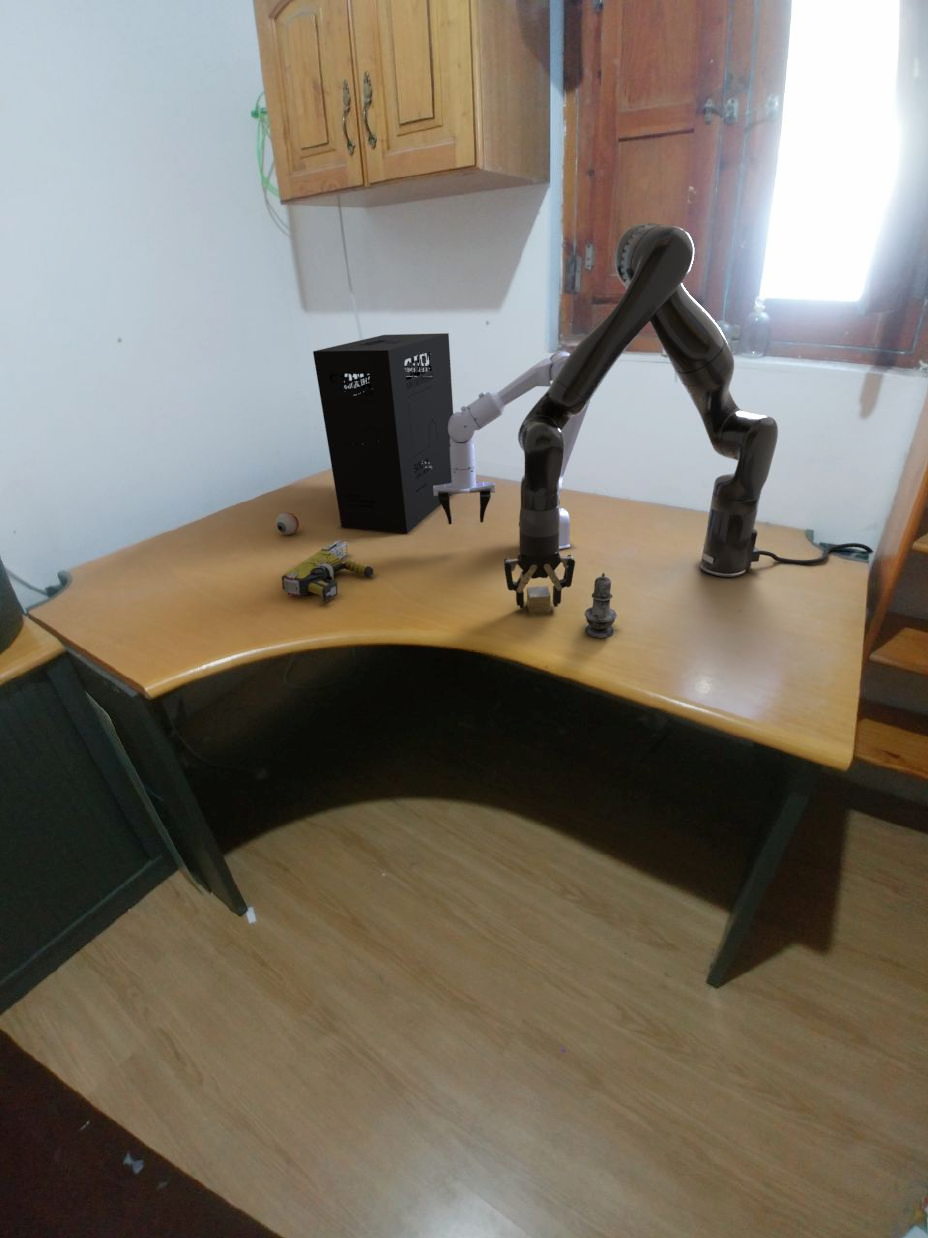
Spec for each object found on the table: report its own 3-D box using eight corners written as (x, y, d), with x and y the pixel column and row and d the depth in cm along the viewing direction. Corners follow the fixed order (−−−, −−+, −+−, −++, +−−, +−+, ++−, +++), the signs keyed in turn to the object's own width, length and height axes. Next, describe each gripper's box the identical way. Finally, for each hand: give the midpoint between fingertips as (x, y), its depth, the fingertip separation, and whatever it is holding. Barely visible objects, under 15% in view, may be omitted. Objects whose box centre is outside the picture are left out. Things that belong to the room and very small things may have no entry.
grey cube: (527, 604, 124) (527, 587, 122) (547, 603, 124) (547, 586, 122) (529, 615, 120) (529, 597, 118) (550, 613, 120) (550, 596, 118)
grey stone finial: (615, 639, 110) (620, 580, 104) (583, 637, 112) (586, 579, 106) (615, 623, 115) (620, 566, 109) (584, 621, 117) (587, 565, 111)
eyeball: (273, 537, 164) (268, 516, 161) (287, 528, 169) (282, 508, 166) (291, 539, 161) (286, 518, 158) (305, 530, 166) (301, 510, 163)
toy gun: (389, 548, 145) (334, 537, 149) (339, 588, 125) (277, 575, 129) (389, 566, 147) (335, 555, 151) (340, 608, 127) (279, 595, 131)
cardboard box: (400, 485, 198) (384, 334, 175) (457, 489, 191) (448, 333, 169) (341, 526, 168) (312, 351, 145) (407, 533, 161) (388, 350, 139)
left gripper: (431, 473, 136) (435, 529, 143) (495, 469, 136) (496, 526, 143) (432, 464, 143) (436, 519, 149) (493, 461, 142) (494, 515, 149)
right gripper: (502, 537, 110) (504, 616, 119) (581, 533, 110) (577, 612, 118) (499, 522, 117) (501, 599, 125) (574, 518, 117) (570, 595, 125)
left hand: (465, 521), depth 147 cm, fingers open, 7 cm apart
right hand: (538, 605), depth 122 cm, fingers open, 6 cm apart
